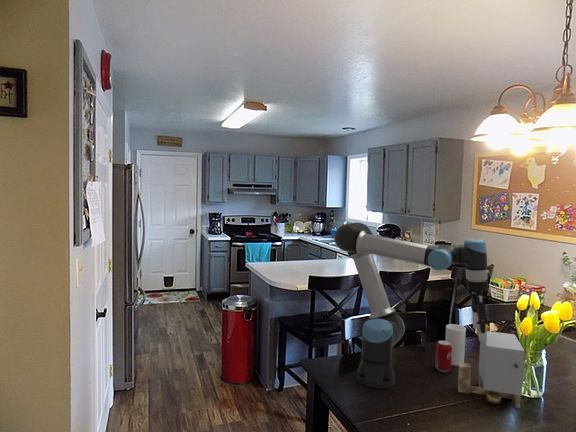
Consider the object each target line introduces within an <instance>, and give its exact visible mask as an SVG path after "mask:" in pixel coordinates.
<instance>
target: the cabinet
mask: <svg viewBox="0 0 576 432" xmlns="http://www.w3.org/2000/svg"><path fill="white" fill-rule="evenodd" d="M478 358H479V359H478V374H477V375H478V380H477V384H478V387H482V388H484V390H490V391H496V392H503V393H509V394H515V395H518V396H520V397H521V396H522V395H523V386H524V385H523V384H524V383H523V381H524V369H525V368H524V367H525V349H524V347H523V346H522V344H521V342H520V341H519V340H518V338H517V335H516V334H513V333H506V332H505V333H504V332H497V331H487V341H479V357H478Z"/></svg>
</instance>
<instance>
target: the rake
mask: <svg viewBox="0 0 576 432" xmlns="http://www.w3.org/2000/svg"><path fill="white" fill-rule="evenodd" d="M457 373H458V374H457V375H458V376H457V377H458V378H457V392H458V393H462V394H463V393H464V394H469V395H470V394H471V393H473V394H478V395H484V396H486V394H487V393H488V392H494V393H497V394H499V395H501V397H502V398H503V399H509V400H512V403H513V406H514V409H519V410H520V409H521V399H520V395H515V394H509V393H503V392H496V391H490V390H484V388H482V387H479V386H474V385H471V375H472V374H471V373H472V367H471V363H466V362H464V363H460V362H459V366H458V372H457Z"/></svg>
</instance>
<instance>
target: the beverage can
mask: <svg viewBox="0 0 576 432" xmlns="http://www.w3.org/2000/svg"><path fill="white" fill-rule="evenodd" d="M435 345H436V346H435V362H434V363H435V366H434V367H435V368H436V369H437V371H439V372H441V373H449V371H451V370H452V365H451V359H452V346H451V343H450V342H448V341H445V340H438V341H437V343H436V344H435Z"/></svg>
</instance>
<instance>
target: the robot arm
mask: <svg viewBox="0 0 576 432" xmlns="http://www.w3.org/2000/svg"><path fill="white" fill-rule="evenodd" d="M333 239H334V240H333V241H334V243H335V245H336V247H337V248H338V249H339V250H341V251H343V252H347V256H348V257H349V258H350V259H352V260H353V262H354V266H355V268H356V271H357V274H358V277H359V279H360V283H361V286H362V288H363V292H364V295H365V298H366V301H367V304H368V307H369V310H370V314H369V316H368V317H369V319H368V320H366V321H365V322H364V323H363V325H362V331H361V333H362V335H361V337H362V339H361V343H362V344H361V360H360V362H359V366H358V369H357V370H356V380H357V382H358V383H359V384H360V385H362V386H365V387H367V388H371V389H382V390H384V389H389V388H392V387H393V386H394V385H395V383H396V375H395V372H394V368H393V365H392V356H393V355H392V351H393V349H392V348H393V347H394V346H395V345H396V344H398V342H400V341H401V340H402V338H403V336H404V335H405V331H406V330H405V329H406V325H405V323H404V321H403V318H401V317H400V316H399V315H398V313H397V311H396V309H395V308H393V307H391V304H390V301H389V298H388V296H387V292H386V290H385V287H384V284H383V281H382V277H381V275H380V272H379V269H378V267H377V263H376V260H375V258H374V256H380V257H384V258H389V259H394V260H398V261H403V262H407V263H408V262H409V263H413V264H418V265H421V266H427V267H430V268H432V269H433V270H435V271H443V270H446V269H448V268H449V267H450V266H451V265H465V279H466V281H465V282H466V290H467V291H469V292H471V302H470V303H471V307H470V308H471V311H472V312H471V313H472V329H474V330H475V329H476V330H478V331H477V333H478V342H480V341H487V325H488V319H487V317H488V316H487V311H486V302H485V295H484V294H483V293H484V292H487V291H488V290H489V281H488V274H490V271H489V270H488V251H487V244H486V241H485V240H484V239H481V238H480V239H479V238H469V239H465V240H464V243H463V244H442V243H441V244H434V245H433V246H432V245H428V244H422V243H416V242H411V241H406V240H401V239H395V238H389V237H387V236H380V235H375V234H373V231H372V229H371V228H370V227H369V225H367V224H365V223H363V222H353V223H352V222H351V223H345V224H342V225H340V226H339V227H337V229H336V230H335V232H334V238H333Z"/></svg>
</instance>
